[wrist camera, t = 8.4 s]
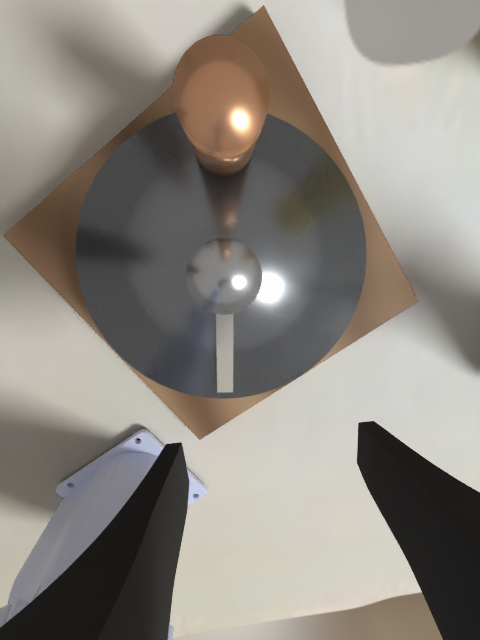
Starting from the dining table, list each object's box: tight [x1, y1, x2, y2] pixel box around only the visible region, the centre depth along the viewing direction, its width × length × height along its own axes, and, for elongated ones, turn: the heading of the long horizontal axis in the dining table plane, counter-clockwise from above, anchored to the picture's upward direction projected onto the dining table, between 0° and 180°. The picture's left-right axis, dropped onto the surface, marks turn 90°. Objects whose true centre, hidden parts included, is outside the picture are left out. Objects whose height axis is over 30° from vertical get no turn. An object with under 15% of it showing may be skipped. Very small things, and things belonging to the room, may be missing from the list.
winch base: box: [4, 5, 418, 440], centre depth 18 cm, size 18×18×1 cm
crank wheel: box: [76, 35, 367, 399], centre depth 14 cm, size 16×16×7 cm
